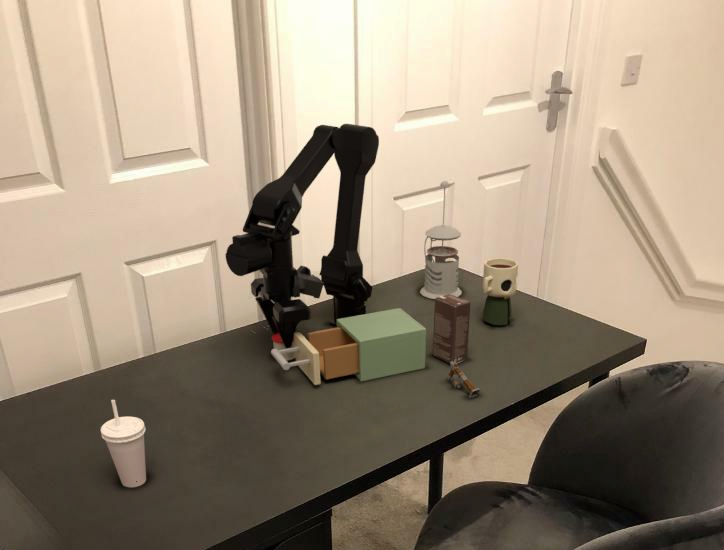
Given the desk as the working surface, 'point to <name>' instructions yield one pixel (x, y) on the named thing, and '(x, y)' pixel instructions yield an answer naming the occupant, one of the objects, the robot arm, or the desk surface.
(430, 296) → the french press
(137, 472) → the smoothie
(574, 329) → the desk surface
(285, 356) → the cylinder
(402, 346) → the green drawer cabinet
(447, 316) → the box
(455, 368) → the wooden post with brackets
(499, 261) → the character mug
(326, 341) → the pod drawer
